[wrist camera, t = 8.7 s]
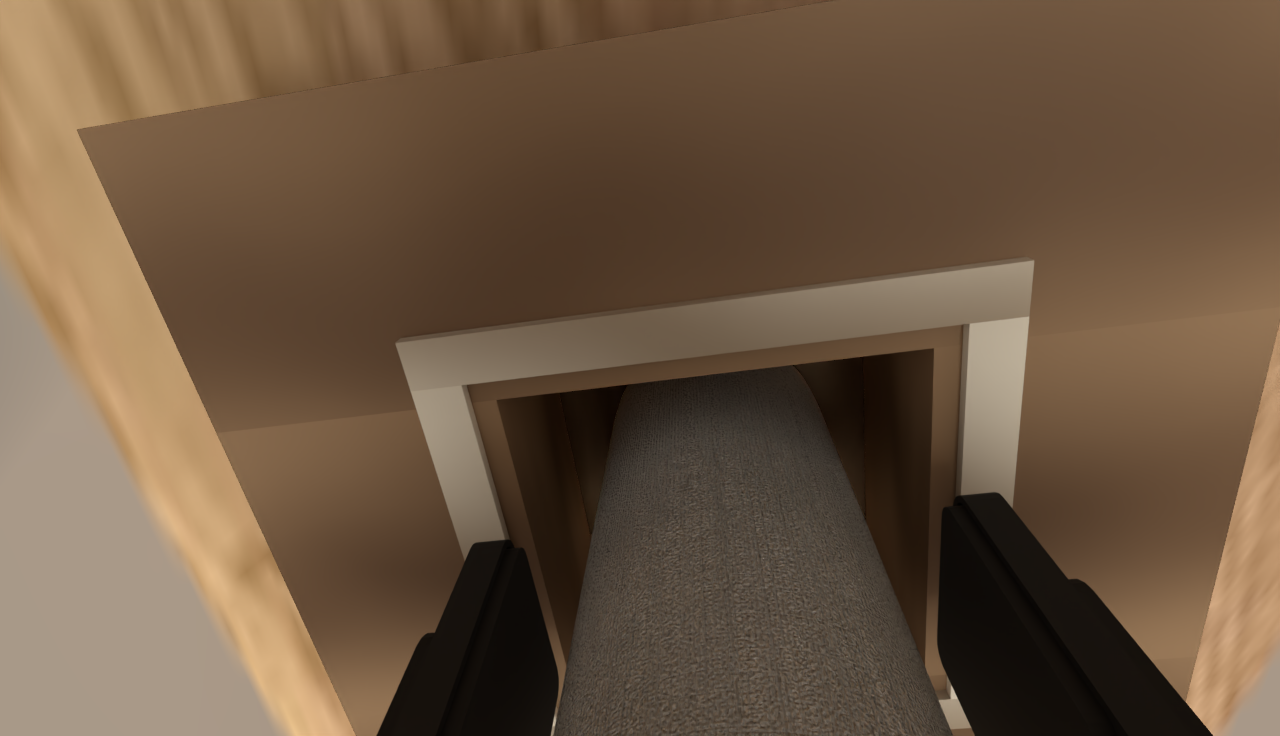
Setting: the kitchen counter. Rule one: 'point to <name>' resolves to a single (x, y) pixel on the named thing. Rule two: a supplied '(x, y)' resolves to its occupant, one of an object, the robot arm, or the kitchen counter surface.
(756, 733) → the grey hollow tube
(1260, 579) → the kitchen counter surface
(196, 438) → the kitchen counter surface
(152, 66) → the kitchen counter surface
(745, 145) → the brown flat square frame
